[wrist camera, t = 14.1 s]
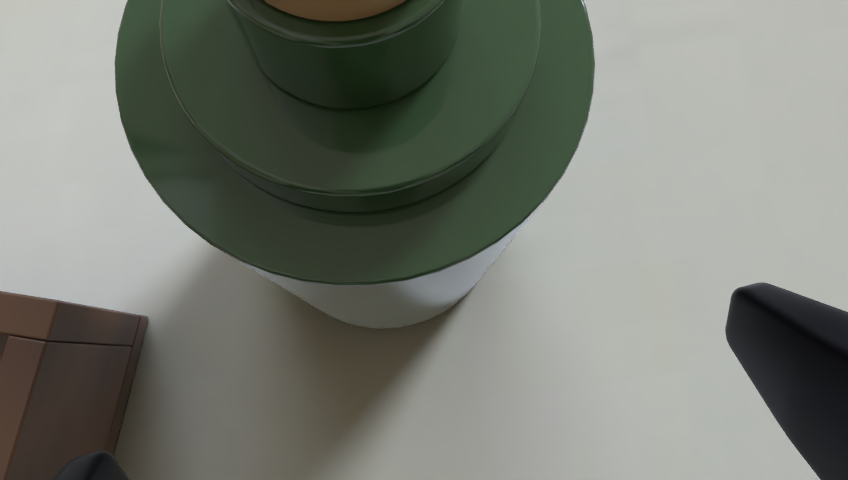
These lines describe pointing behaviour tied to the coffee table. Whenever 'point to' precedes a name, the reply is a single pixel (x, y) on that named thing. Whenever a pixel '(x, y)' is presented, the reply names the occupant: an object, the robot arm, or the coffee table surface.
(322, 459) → the coffee table surface
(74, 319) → the crate
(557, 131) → the bottle
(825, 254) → the coffee table surface
